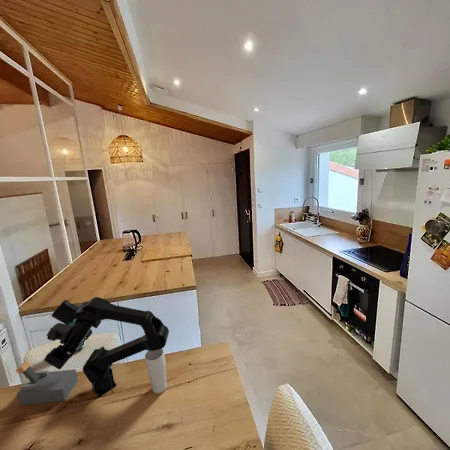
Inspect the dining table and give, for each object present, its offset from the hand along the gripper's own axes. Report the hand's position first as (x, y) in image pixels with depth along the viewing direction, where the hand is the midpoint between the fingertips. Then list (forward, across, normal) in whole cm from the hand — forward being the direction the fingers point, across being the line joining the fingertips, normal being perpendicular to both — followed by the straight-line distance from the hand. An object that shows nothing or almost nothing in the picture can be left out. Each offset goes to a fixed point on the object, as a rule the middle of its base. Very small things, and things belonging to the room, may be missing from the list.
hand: (59, 361), depth 91 cm
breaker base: (+13, 0, +3) cm, 14 cm away
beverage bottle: (+15, -24, 0) cm, 28 cm away
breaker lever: (+11, +1, -4) cm, 12 cm away
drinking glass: (-11, 0, +36) cm, 38 cm away
